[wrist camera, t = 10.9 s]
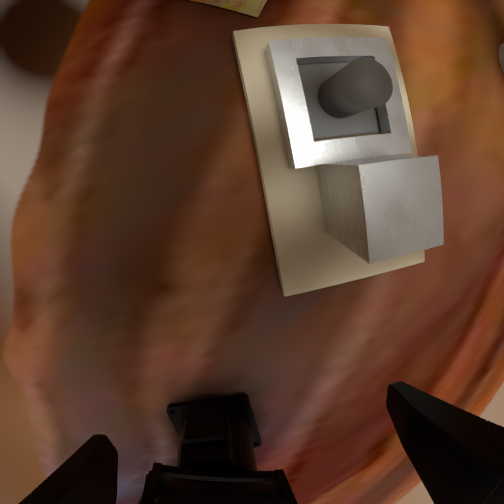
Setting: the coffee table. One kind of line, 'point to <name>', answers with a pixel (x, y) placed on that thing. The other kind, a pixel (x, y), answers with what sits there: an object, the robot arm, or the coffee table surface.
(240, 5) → the candy box
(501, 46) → the house plant
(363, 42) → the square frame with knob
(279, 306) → the coffee table surface
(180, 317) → the coffee table surface
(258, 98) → the board
